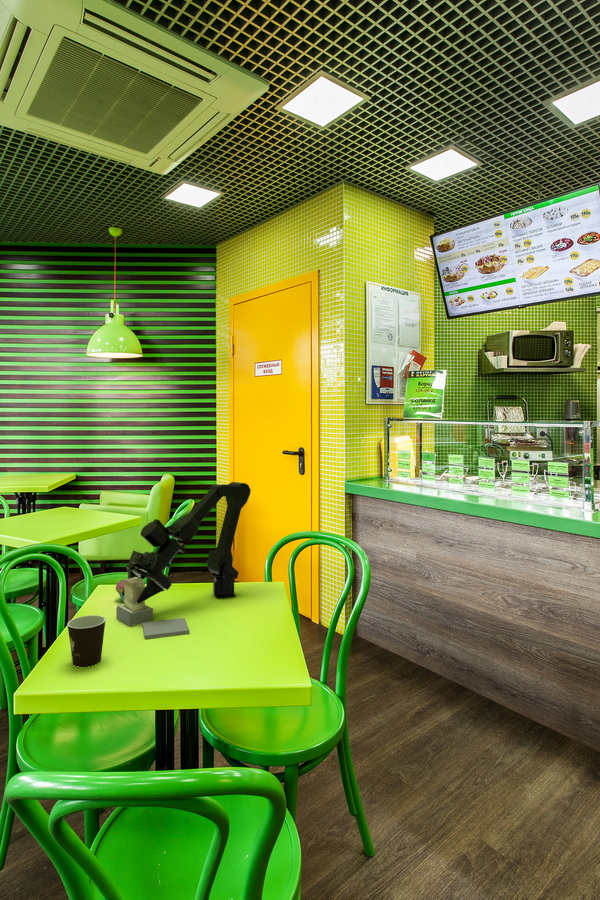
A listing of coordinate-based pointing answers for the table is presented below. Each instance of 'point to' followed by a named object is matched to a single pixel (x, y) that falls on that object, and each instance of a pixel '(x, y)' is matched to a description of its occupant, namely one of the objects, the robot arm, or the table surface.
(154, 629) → the rubber mat
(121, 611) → the dispenser sleeve
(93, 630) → the coffee mug
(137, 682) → the table surface
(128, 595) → the cream square pillar
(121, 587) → the cupcake
